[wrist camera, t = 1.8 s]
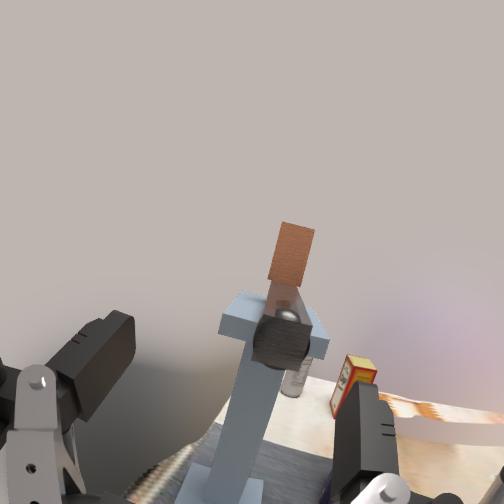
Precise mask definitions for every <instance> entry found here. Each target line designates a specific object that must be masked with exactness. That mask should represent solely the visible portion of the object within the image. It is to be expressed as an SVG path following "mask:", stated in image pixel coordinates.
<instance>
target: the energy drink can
mask: <svg viewBox="0 0 504 504" xmlns="http://www.w3.org/2000/svg"><path fill="white" fill-rule="evenodd" d="M312 359H313V357H308V356H306V358H305V359H304V360H303V361H302V364H301V367H300V370H299V372H296V371H292V370H287V371H286V374H285V377H284V380H283V383H282V386H281V390H282V393H283V394H284V395H286V396H289V397H298V396H299V395H300V394H301V393H302V390H303V387H304V384H305V381H306V378H307V375H308V372H309V369H310V366H311V363H312Z"/></svg>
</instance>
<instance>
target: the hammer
mask: <svg viewBox="0 0 504 504" xmlns="http://www.w3.org/2000/svg"><path fill="white" fill-rule="evenodd" d="M314 231H315V230H314V229H310V228H306V227H301V226H298V225H294V224H290V223H286V222H282V224H281V228H280V232H279V236H278V240H277V244H276V248H275V252H274V256H273V260H272V264H271V268H270V271H269V275H268V279H269V280H272V281H271V285H270V288H269V292H268V296H267V300H266V304H265V307H264V308H263V310H262V312H261V314H260V317H259V320H258V323H257V327H256V330H255V333H254V337H253V353H252V357H251V361H254V362H258V363H262V364H263V365H265V366H266V367H268V368H271V369H274V370H292V371H296V372H299V370H300V367H301V364H302V361H303V360H304V359H305V358H306V356H307V355H308V352H309V349H310V335H311V331H312V328H313V325H312V322H311V320H310V318H309V315H308V313H307V310H306V308H305V306H304V303H303V301H302V299H301V296H300V294H299V292H298V289H297V287H300V286H301V282H302V279H303V275H304V271H305V267H306V263H307V259H308V255H309V251H310V247H311V244H312V239H313V235H314ZM296 286H297V287H296Z"/></svg>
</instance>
